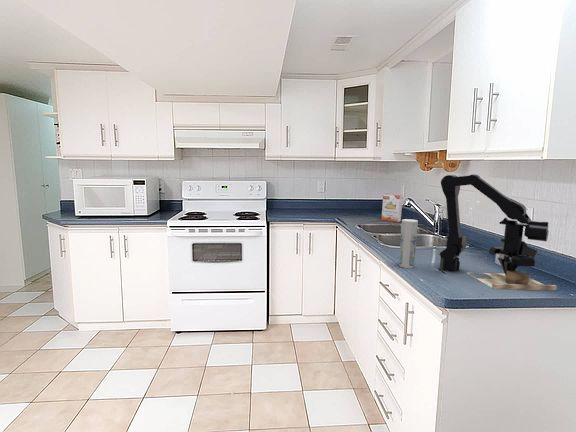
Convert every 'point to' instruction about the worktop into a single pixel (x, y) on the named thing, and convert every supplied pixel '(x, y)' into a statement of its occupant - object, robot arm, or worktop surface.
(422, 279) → the worktop surface
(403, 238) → the spray can
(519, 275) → the walnut block
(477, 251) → the worktop surface
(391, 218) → the cracker box
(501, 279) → the trap board
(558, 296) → the worktop surface
